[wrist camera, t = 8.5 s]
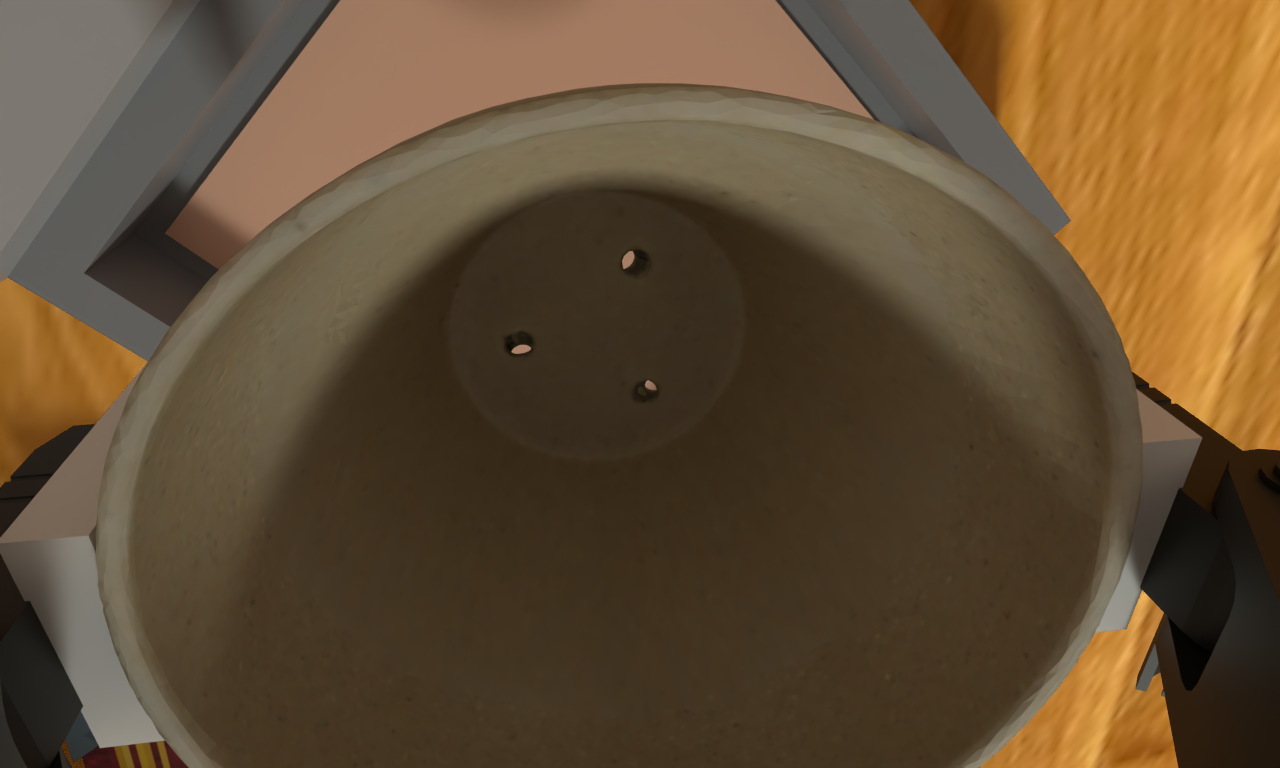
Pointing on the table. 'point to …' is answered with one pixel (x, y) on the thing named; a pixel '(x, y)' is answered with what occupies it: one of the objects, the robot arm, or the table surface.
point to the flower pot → (625, 455)
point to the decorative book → (118, 751)
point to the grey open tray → (376, 112)
